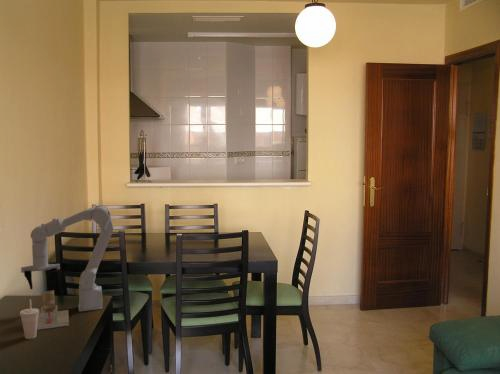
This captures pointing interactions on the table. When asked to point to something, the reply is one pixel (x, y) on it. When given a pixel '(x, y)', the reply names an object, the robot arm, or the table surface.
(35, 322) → the smoothie
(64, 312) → the jack base
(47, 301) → the post
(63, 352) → the table surface
